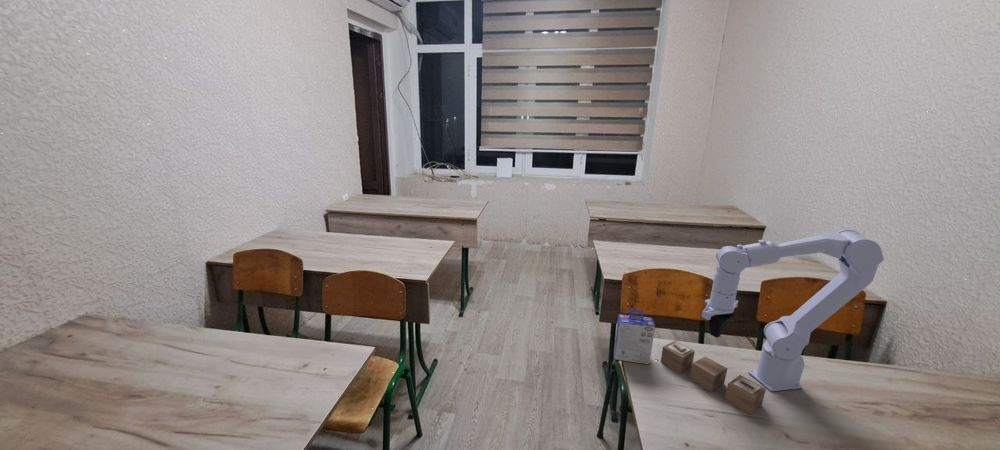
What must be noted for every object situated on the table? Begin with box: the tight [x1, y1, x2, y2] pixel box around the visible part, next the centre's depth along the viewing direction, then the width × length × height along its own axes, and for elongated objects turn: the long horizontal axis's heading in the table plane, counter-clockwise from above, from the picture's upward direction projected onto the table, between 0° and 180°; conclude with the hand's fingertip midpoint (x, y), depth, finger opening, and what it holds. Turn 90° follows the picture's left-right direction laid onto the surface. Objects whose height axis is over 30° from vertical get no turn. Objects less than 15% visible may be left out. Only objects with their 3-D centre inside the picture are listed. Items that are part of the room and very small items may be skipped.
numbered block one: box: [723, 374, 767, 416], centre depth 94 cm, size 6×6×5 cm
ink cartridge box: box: [613, 308, 656, 365], centre depth 110 cm, size 10×6×14 cm, turn 78°
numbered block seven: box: [660, 340, 696, 374], centre depth 108 cm, size 6×6×5 cm
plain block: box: [689, 356, 728, 393], centre depth 101 cm, size 6×6×5 cm
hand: (714, 335), depth 106 cm, fingers closed
